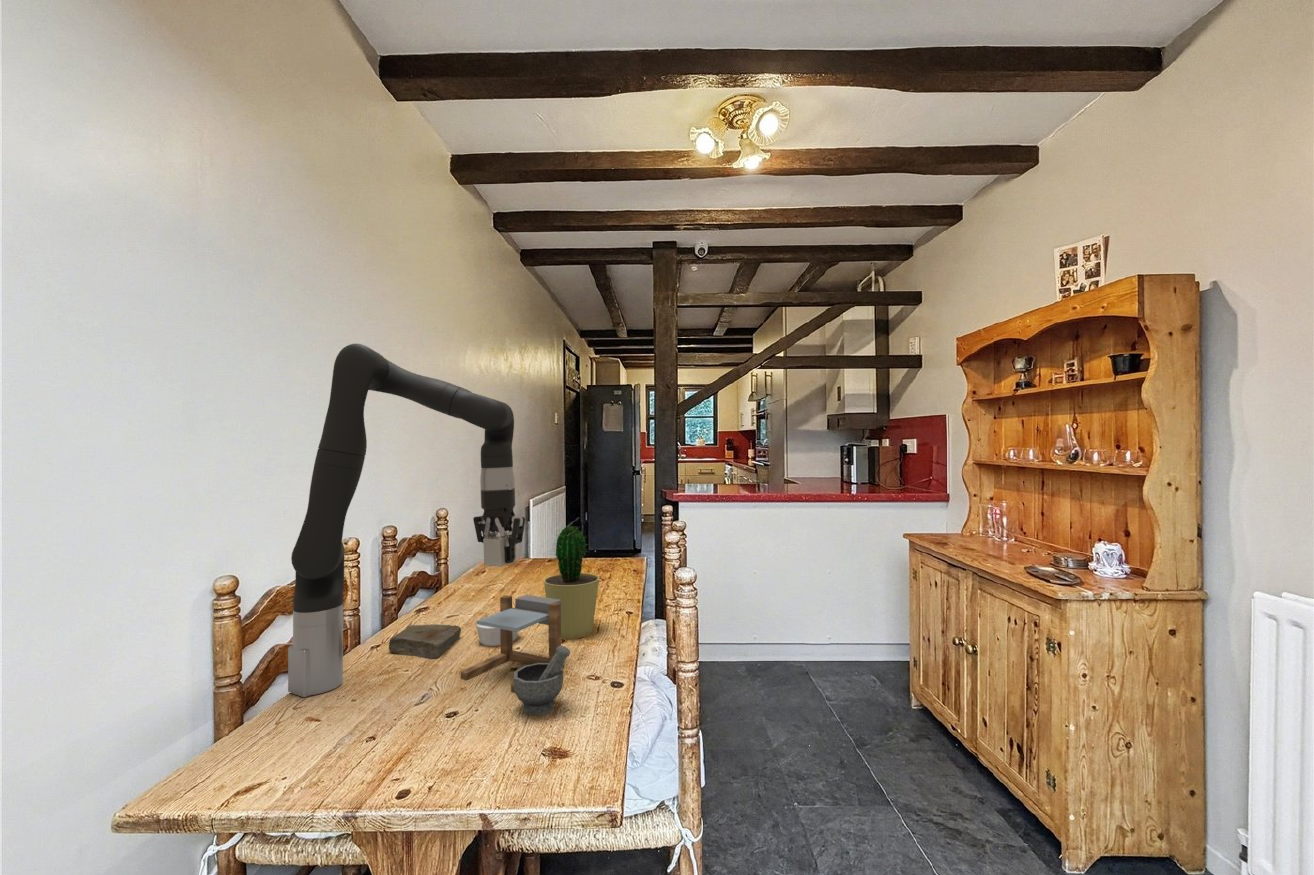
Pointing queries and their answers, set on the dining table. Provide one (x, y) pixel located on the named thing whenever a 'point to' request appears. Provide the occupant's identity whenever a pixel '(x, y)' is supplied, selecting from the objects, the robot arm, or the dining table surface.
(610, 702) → the dining table surface
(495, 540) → the grey block
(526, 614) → the trapdoor
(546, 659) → the frame
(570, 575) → the potted cactus
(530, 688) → the mortar and pestle
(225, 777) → the dining table surface
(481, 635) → the ramekin
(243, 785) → the dining table surface
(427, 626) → the dark stone slab
